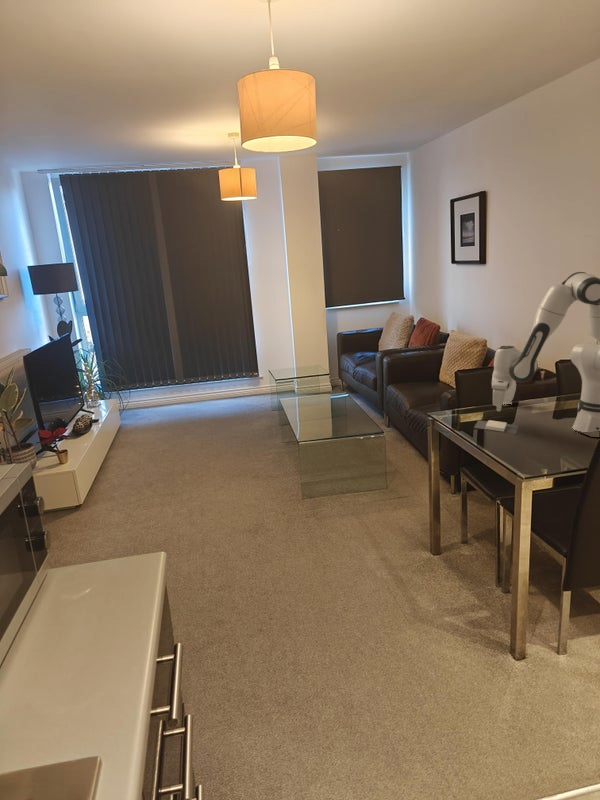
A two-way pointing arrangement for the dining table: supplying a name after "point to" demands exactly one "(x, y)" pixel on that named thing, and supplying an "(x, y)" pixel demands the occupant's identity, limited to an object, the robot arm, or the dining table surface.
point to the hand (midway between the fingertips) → (498, 410)
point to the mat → (508, 429)
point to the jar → (510, 393)
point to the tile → (496, 425)
